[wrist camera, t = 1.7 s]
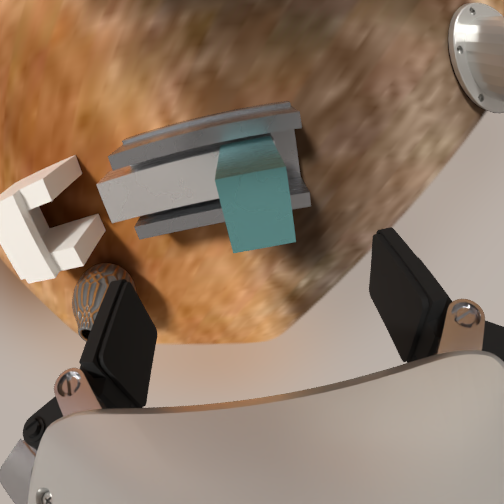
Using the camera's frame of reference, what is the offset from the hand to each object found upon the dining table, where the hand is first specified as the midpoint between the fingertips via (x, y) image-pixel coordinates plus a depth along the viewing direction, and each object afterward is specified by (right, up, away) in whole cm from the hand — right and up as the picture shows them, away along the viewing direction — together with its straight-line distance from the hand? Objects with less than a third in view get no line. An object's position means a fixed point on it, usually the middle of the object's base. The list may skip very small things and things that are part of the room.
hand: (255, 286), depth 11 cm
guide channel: (-3, +9, +14) cm, 17 cm away
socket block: (-19, +6, +15) cm, 25 cm away
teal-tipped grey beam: (-5, +8, +13) cm, 16 cm away
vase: (-16, -2, +20) cm, 26 cm away
